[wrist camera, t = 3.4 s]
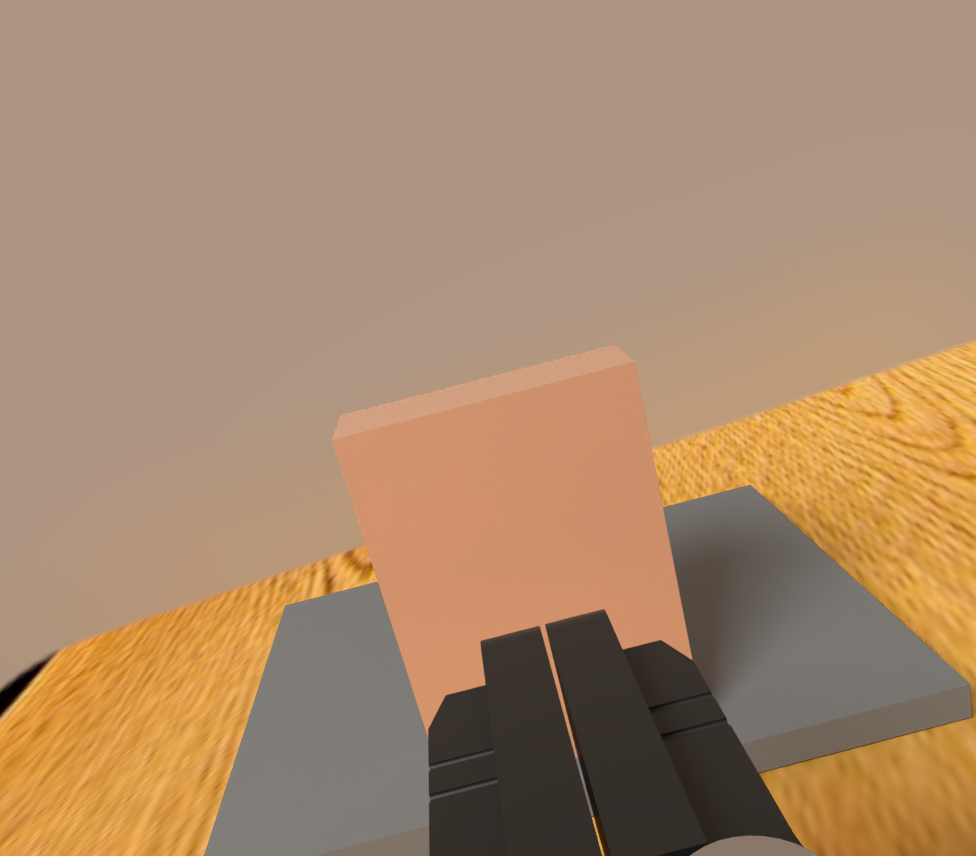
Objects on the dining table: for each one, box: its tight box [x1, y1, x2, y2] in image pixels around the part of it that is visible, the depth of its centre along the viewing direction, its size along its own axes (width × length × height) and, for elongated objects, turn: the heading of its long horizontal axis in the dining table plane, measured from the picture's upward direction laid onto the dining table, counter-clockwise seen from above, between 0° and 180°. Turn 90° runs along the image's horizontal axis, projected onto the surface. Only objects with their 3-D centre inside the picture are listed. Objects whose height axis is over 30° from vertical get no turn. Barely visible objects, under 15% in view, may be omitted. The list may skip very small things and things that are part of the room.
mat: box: [204, 485, 972, 856], centre depth 27 cm, size 20×14×1 cm
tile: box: [332, 345, 692, 758], centre depth 20 cm, size 7×2×10 cm, turn 95°
